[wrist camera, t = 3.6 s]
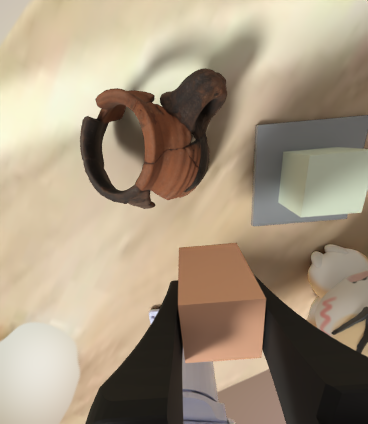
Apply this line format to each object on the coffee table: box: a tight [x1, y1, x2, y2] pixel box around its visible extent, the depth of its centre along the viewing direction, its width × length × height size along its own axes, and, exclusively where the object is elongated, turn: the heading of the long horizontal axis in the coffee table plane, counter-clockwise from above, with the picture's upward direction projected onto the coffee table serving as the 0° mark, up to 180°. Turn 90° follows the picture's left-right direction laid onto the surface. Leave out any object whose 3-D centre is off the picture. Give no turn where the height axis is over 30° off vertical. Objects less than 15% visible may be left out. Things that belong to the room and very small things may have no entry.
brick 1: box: [178, 243, 266, 363], centre depth 12 cm, size 4×4×5 cm
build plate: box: [251, 115, 368, 226], centre depth 19 cm, size 10×10×1 cm
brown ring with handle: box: [80, 69, 227, 209], centre depth 16 cm, size 12×10×8 cm
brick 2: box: [278, 147, 368, 217], centre depth 17 cm, size 5×5×4 cm
